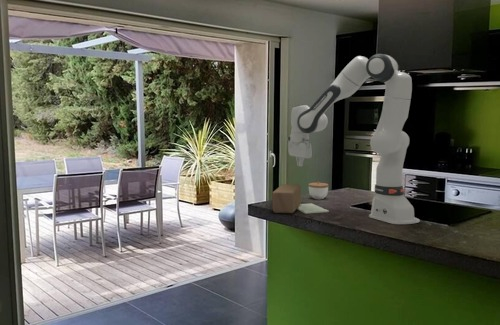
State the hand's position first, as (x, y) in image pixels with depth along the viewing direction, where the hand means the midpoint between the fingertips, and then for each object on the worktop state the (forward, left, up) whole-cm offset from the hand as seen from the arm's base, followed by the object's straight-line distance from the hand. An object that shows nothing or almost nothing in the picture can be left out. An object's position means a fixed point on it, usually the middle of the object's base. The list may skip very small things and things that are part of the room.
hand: (299, 166), depth 226 cm
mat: (-9, -1, -20) cm, 22 cm away
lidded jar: (+14, -18, -20) cm, 30 cm away
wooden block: (+2, +3, -14) cm, 15 cm away
